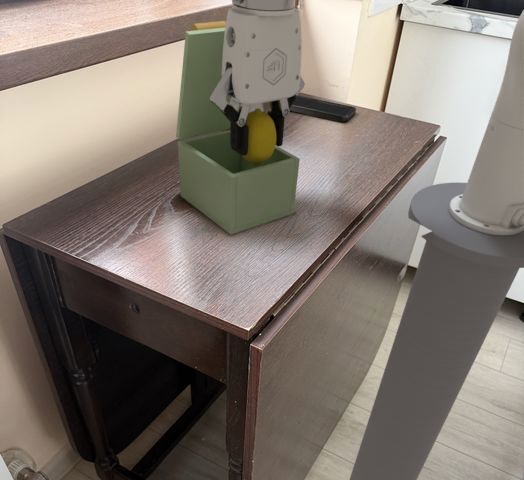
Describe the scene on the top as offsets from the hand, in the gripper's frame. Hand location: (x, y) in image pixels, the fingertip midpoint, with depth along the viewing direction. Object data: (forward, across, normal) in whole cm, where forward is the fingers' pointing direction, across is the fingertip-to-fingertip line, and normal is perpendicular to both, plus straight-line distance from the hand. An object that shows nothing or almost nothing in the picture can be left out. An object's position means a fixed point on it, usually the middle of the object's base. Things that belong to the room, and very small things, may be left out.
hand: (256, 146), depth 73 cm
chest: (+10, -1, +3) cm, 11 cm away
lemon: (+3, 0, 0) cm, 3 cm away
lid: (-6, -1, +8) cm, 10 cm away
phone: (+10, +41, +29) cm, 51 cm away
